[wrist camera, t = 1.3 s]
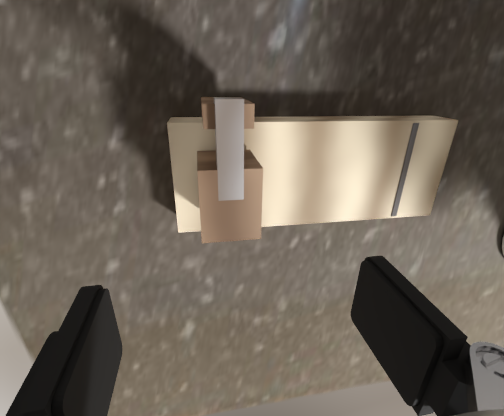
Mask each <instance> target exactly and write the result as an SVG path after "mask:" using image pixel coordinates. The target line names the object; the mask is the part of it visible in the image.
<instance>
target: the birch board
mask: <svg viewBox="0 0 504 416" xmlns="http://www.w3.org/2000/svg"><path fill="white" fill-rule="evenodd" d="M457 124H458V120H455V119H450V118H444V117H438V116H296V117H254V129H244V150H251V152H252V153H253V155H254V156H255V157H256V159H257V160H258V162H259V163H260V165H261V166H262V167H263V191H262V222H261V227H267V226H281V225H295V224H310V223H324V222H339V221H353V220H368V219H382V218H397V217H411V216H425V215H430V213H431V210H432V206H433V203H434V200H435V196H436V193H437V190H438V187H439V183H440V180H441V177H442V173H443V170H444V167H445V163H446V160H447V157H448V153H449V150H450V147H451V144H452V140H453V137H454V134H455V130H456V127H457ZM167 128H168V137H169V147H170V156H171V166H172V176H173V185H174V195H175V204H176V214H177V224H178V233H180V232H194V231H201V221H200V206H199V191H198V176H197V151H212V150H216V143H215V129H203V122H202V117H170V119H169V121H168V122H167Z"/></svg>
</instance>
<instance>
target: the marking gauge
mask: <svg viewBox="0 0 504 416" xmlns="http://www.w3.org/2000/svg"><path fill="white" fill-rule="evenodd" d="M201 109H202V122H203V129H215V143H216V150H212V151H197V176H198V191H199V206H200V221H201V236H202V243H211V242H224V241H238V240H251V239H261V222H262V191H263V167H262V166H261V165H260V163H259V162H258V160H257V159H256V157H255V156H254V155H253V153H252V152H251V150H244V129H254V110H255V104H254V103H252V102H250V101H248V100H246V99H244V98H242V97H201Z"/></svg>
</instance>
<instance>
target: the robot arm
mask: <svg viewBox="0 0 504 416" xmlns="http://www.w3.org/2000/svg"><path fill="white" fill-rule="evenodd" d="M502 251H503V255H504V235H503V240H502ZM351 318H352V321H353V323H354V324H355V326H356V327H357V329H358V330H359V332H360V334H361V335H362V337H363V338H364V340H365V341H366V343H367V344H368V346H369V347H370V349H371V350H372V352H373V354H374V355H375V357H376V358H377V360H378V361H379V363H380V364H381V366H382V367H383V369H384V370H385V372H386V374H387V375H388V377H389V378H390V380H391V381H392V383H393V384H394V386H395V387H396V389H397V390H398V392H399V393H400V395H401V397H402V398H403V400H404V401H405V402H406V404H408V405H409V406H412V407H413V409H414V410H415V412H416V413H417V415H418V416H422V415H426V414H431V413H433V412H435V413H436V415H437V416H504V348H503V347H500V346H498V345H495V344H492V343H488V342H476V343H473V344H472V345H471V346H470V345H469V344H468V343H467V342H466V340H467V336H466V335H465V334H464V333H463V332H462V331H461V330H460V329H458V328H457V327H456V326H455V325H454V324H453V323H452V322H451V321H450V320H449V319H448V318H447V317H446V316H445V315H444V314H443V313H442V312H441V311H440V310H439V309H438V308H436V307H435V306H434V305H433V304H432V303H431V302H430V301H429V300H428V299H427V298H426V297H425V296H424V295H423V294H422V293H421V292H420V291H419V290H418V289H417V288H416V287H415V286H413V285H412V284H411V283H410V282H409V281H408V280H407V279H406V278H405V277H404V276H403V275H402V274H401V273H400V272H399V271H398V270H397V269H396V268H395V267H394V266H393V265H392V264H390V263H389V262H388V261H387V260H386V259H385V258H384V257H383V256H372V257H367V258H366V259H365V260H364V261H363V262H362V263H361V266H360V271H359V276H358V281H357V285H356V290H355V295H354V300H353V304H352V309H351ZM121 356H122V343H121V339H120V334H119V330H118V326H117V322H116V318H115V314H114V310H113V306H112V302H111V298H110V294H109V290H108V289H103V287H102V286H101V285H95V286H85V287H81V289H80V290H79V292H78V294H77V296H76V298H75V300H74V302H73V304H72V306H71V308H70V310H69V311H68V313H67V315H66V317H65V319H64V321H63V323H62V325H61V327H60V329H59V331H56V332H53V333H51V334H50V335H49V337H48V338H47V340H46V342H45V344H44V345H43V347H42V349H41V351H40V353H39V355H38V357H37V358H36V360H35V362H34V364H33V366H32V368H31V369H30V371H29V373H28V375H27V377H26V379H25V381H24V383H23V384H22V386H21V388H20V390H19V392H18V394H17V395H16V397H15V399H14V401H13V403H12V405H11V406H10V409H9V410H8V412H7V414H6V416H107V414H108V410H109V405H110V401H111V397H112V393H113V389H114V385H115V381H116V377H117V373H118V369H119V365H120V360H121Z"/></svg>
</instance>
